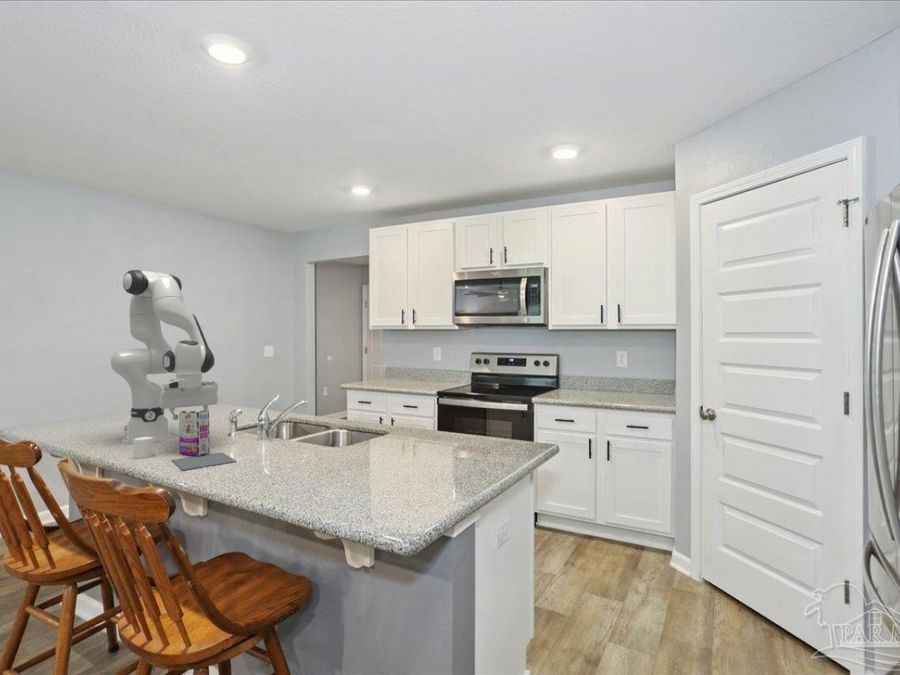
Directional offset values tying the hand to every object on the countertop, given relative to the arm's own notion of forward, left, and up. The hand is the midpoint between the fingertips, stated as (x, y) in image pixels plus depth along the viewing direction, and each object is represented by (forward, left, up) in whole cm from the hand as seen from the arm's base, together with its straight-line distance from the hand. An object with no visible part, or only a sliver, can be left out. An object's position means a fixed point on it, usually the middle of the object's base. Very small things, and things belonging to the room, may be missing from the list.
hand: (189, 418), depth 189 cm
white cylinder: (-1, -15, -13) cm, 20 cm away
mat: (+21, 0, -13) cm, 25 cm away
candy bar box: (+9, 0, -13) cm, 15 cm away
